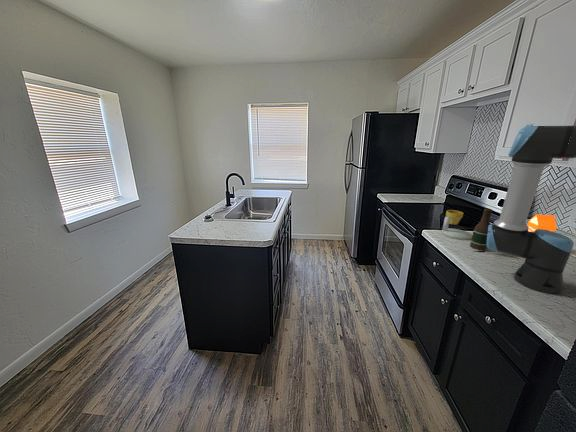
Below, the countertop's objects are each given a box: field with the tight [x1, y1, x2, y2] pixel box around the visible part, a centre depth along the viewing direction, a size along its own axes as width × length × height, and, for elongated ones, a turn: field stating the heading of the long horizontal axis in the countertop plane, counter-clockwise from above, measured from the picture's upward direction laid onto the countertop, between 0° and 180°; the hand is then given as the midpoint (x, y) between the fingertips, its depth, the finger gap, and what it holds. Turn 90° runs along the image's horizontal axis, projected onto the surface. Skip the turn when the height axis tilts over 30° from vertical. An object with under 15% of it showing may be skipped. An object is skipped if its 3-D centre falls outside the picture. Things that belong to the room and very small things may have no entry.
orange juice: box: [526, 213, 557, 232], centre depth 140 cm, size 8×9×20 cm
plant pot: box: [445, 209, 464, 226], centre depth 178 cm, size 10×10×10 cm
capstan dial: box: [441, 216, 473, 241], centre depth 155 cm, size 16×16×11 cm
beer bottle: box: [469, 208, 493, 253], centre depth 135 cm, size 8×8×24 cm
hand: (512, 197), depth 138 cm, fingers closed
